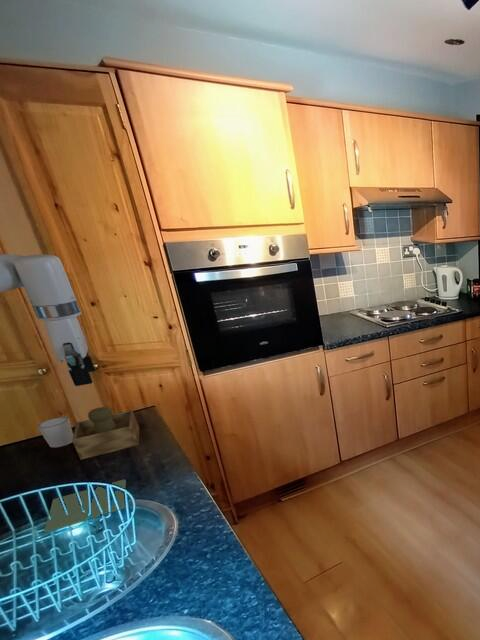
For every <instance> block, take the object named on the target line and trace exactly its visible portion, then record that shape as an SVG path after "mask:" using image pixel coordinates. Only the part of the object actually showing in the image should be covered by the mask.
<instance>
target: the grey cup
mask: <svg viewBox="0 0 480 640" xmlns="http://www.w3.org/2000/svg"><path fill="white" fill-rule="evenodd" d="M71 425H72V424H71V422H70V418H69V417H65V416H64V417H63V416H61V417H55V418H51V419H47V420H44V421H42V422H40V423H38V424H37V425H36V427H37V429H38V431H39V432H40V434H41V435H42V437H43V439H44V440H45V441H46V443H47V444H48V446H49V447H50V448H61V447H65V446H67V445H69V444H73V441H72V439H73V435H74V431H73V429H72V426H71Z"/></svg>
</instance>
